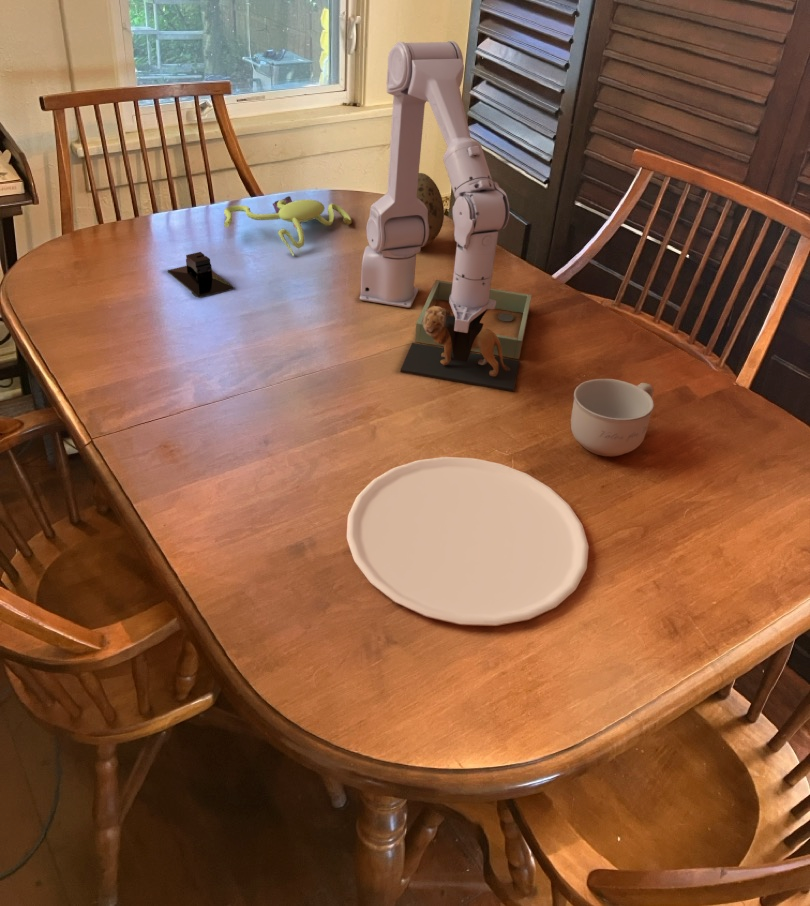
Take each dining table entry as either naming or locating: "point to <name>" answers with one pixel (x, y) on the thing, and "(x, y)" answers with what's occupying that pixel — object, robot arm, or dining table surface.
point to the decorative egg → (431, 204)
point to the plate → (467, 541)
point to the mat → (459, 368)
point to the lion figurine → (439, 332)
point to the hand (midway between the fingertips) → (462, 351)
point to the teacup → (611, 415)
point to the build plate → (200, 276)
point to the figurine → (292, 216)
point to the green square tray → (503, 302)
